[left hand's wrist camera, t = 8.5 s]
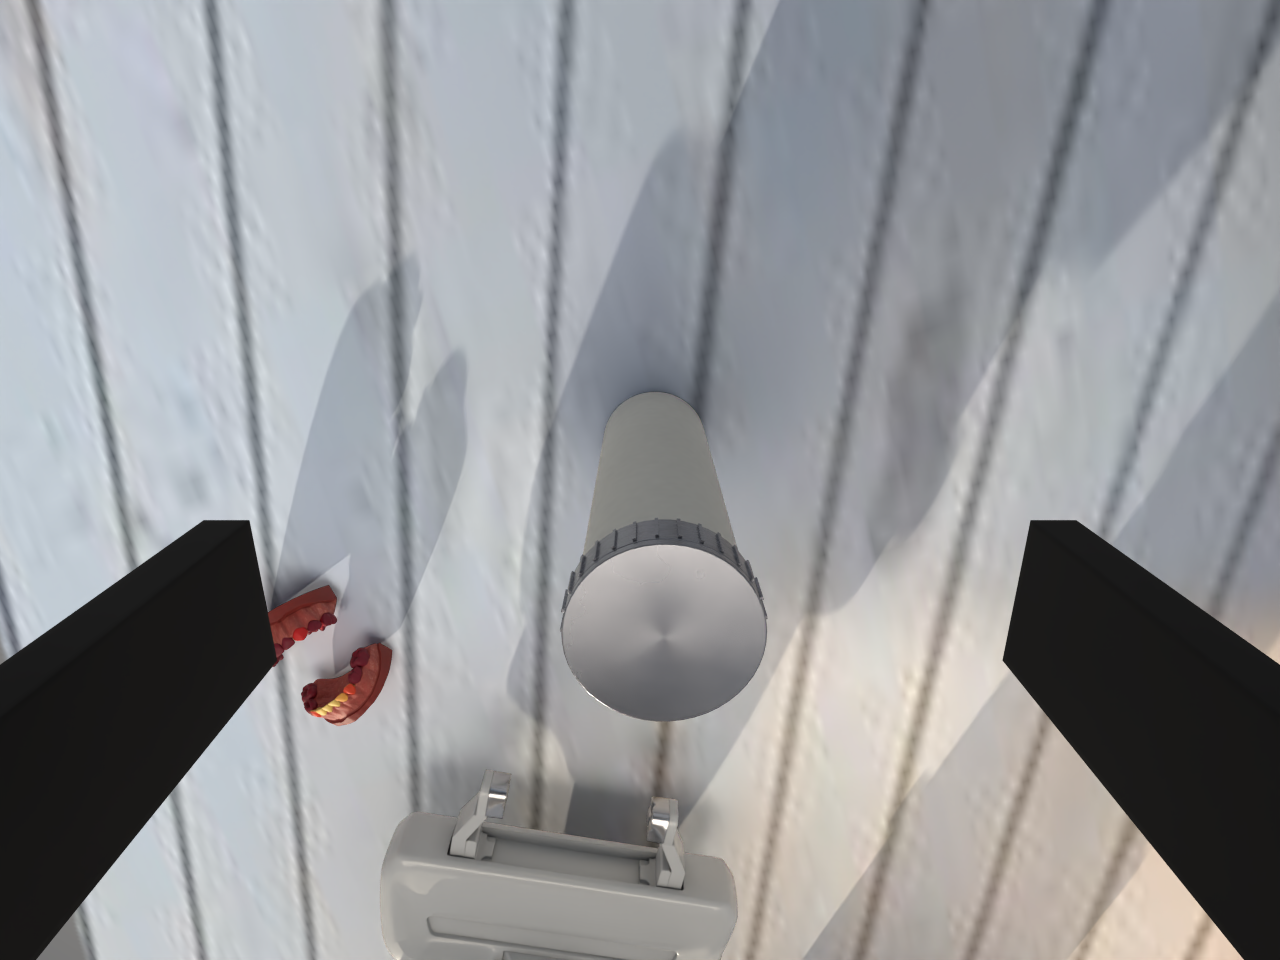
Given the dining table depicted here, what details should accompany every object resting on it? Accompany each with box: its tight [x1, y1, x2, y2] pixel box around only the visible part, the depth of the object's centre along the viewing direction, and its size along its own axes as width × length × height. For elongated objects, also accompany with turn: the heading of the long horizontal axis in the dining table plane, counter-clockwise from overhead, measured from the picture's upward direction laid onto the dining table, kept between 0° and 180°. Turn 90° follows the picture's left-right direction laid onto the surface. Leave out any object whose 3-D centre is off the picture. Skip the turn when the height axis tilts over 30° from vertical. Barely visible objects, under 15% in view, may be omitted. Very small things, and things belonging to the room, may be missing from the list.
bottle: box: [583, 392, 736, 556], centre depth 31 cm, size 6×6×19 cm
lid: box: [560, 518, 767, 721], centre depth 22 cm, size 6×6×2 cm
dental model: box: [268, 585, 392, 726], centre depth 42 cm, size 6×4×8 cm
